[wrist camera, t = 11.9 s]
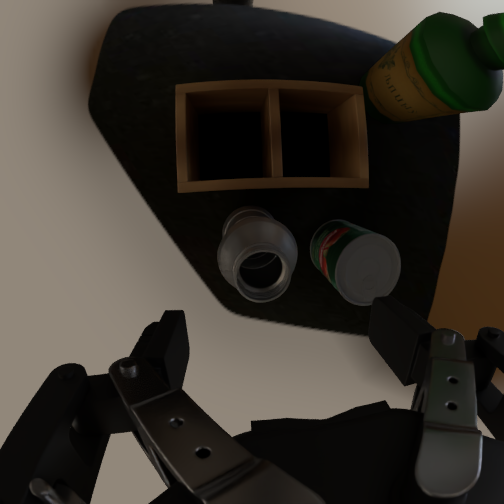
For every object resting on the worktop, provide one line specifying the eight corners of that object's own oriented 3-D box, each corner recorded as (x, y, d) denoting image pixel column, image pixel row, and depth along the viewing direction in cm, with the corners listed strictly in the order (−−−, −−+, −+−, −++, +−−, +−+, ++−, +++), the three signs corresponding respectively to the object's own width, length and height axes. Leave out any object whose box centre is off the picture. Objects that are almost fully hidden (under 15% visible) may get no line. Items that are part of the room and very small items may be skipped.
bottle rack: (190, 108, 34) (175, 84, 24) (333, 107, 35) (362, 86, 25) (193, 190, 36) (177, 193, 27) (337, 186, 37) (369, 188, 28)
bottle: (337, 72, 33) (460, -37, 6) (393, 61, 33) (520, -13, 6) (368, 140, 36) (537, 106, 9) (421, 122, 35) (572, 96, 8)
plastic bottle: (214, 218, 37) (191, 256, 18) (261, 195, 37) (289, 207, 18) (237, 261, 39) (238, 337, 19) (282, 239, 39) (327, 295, 19)
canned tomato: (306, 223, 38) (333, 238, 28) (360, 216, 38) (400, 228, 28) (312, 279, 40) (336, 312, 29) (363, 270, 40) (400, 298, 30)
